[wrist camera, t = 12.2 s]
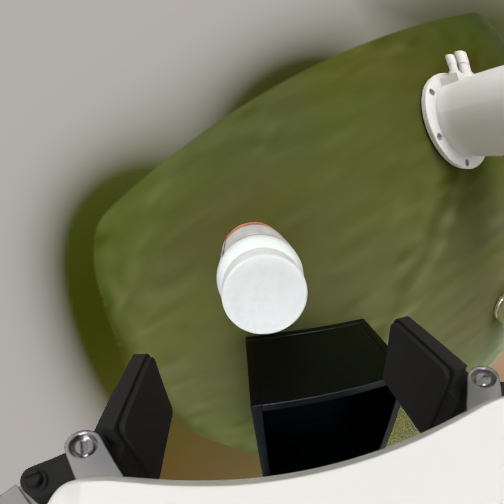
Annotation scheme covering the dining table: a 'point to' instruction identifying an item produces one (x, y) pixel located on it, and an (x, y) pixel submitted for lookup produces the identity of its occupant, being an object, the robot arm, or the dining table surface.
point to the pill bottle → (260, 279)
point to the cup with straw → (500, 309)
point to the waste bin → (319, 396)
